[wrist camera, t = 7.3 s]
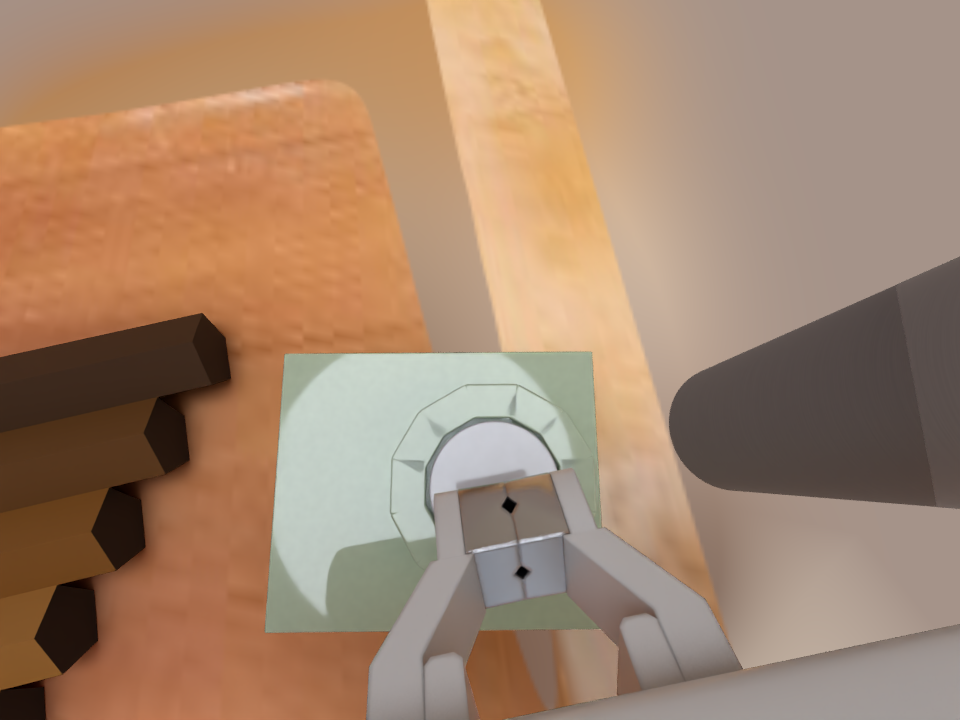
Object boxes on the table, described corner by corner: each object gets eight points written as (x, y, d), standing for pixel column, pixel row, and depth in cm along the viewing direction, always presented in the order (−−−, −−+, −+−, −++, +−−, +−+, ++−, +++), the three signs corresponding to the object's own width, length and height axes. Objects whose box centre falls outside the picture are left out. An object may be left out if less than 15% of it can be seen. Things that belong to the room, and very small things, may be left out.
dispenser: (565, 378, 26) (603, 339, 18) (575, 589, 24) (622, 646, 16) (328, 380, 26) (265, 341, 18) (317, 592, 24) (240, 651, 16)
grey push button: (548, 425, 18) (557, 420, 16) (552, 545, 17) (563, 555, 15) (435, 426, 18) (429, 421, 16) (434, 546, 17) (428, 556, 15)
